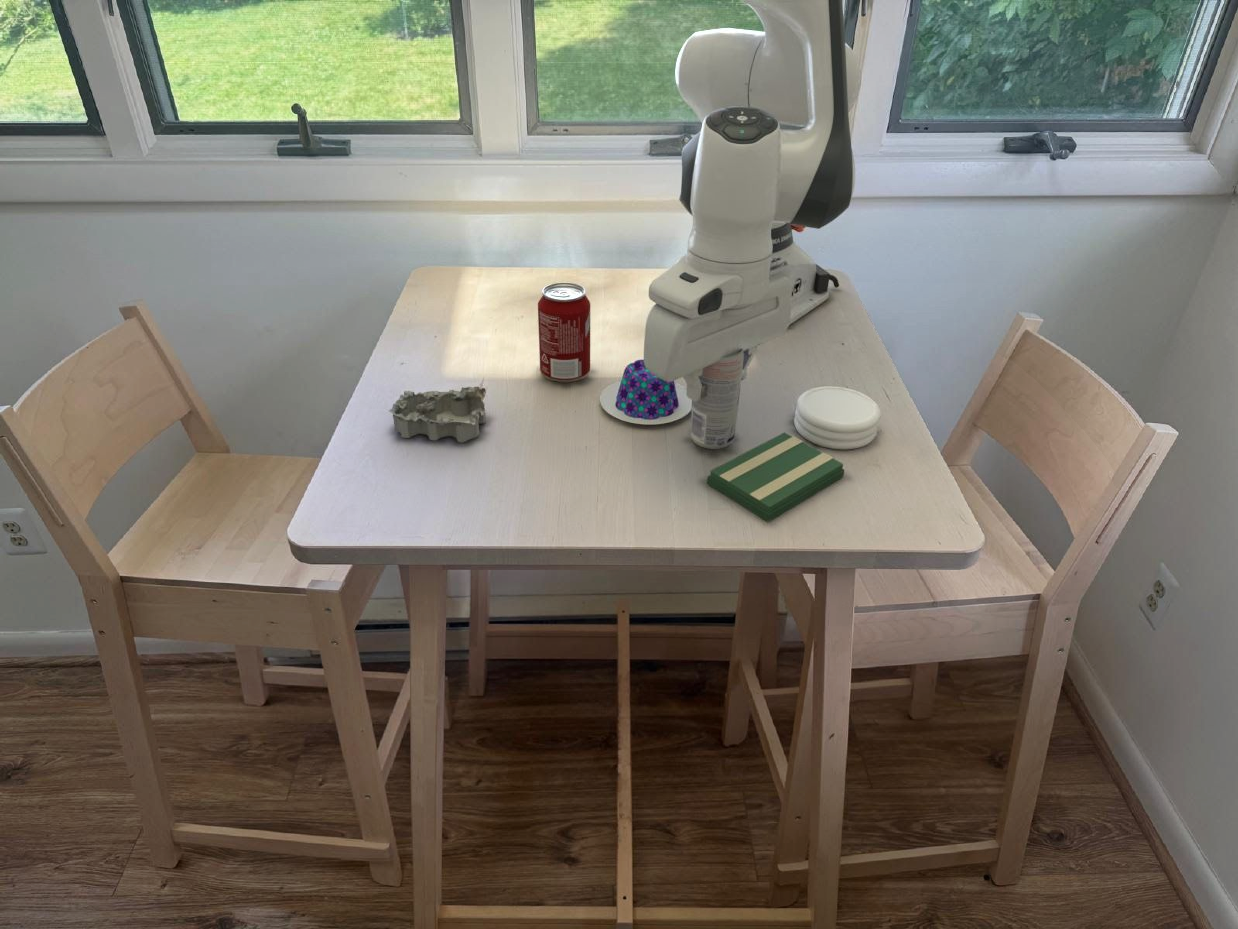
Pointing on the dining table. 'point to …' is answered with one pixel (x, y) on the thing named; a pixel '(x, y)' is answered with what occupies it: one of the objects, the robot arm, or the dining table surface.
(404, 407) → the egg carton
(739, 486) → the tea towel
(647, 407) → the pudding
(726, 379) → the energy drink
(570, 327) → the soda can
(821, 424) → the coaster
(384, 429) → the dining table surface
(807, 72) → the robot arm
